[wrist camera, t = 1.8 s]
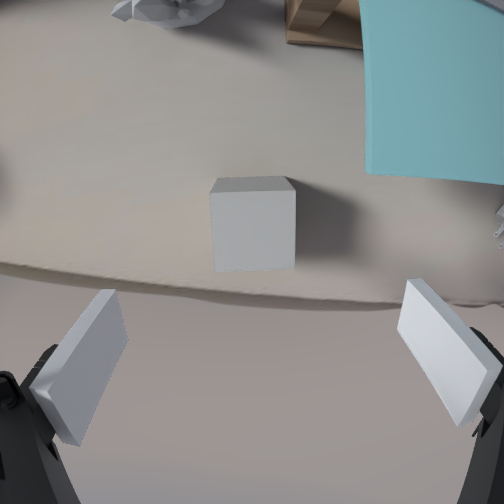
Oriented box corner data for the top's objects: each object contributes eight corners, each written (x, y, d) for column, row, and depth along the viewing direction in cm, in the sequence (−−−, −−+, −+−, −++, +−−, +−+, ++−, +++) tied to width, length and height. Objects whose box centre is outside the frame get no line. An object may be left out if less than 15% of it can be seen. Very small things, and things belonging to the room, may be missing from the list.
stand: (284, -3, 22) (309, -77, 10) (457, 29, 22) (538, 7, 10) (286, 43, 24) (317, -14, 12) (461, 70, 24) (548, 62, 12)
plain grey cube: (217, 178, 29) (209, 193, 22) (284, 176, 29) (295, 190, 22) (220, 240, 31) (215, 271, 24) (284, 238, 31) (294, 269, 24)
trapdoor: (331, -69, 14) (348, -102, 9) (474, -26, 14) (507, -40, 9) (346, 164, 21) (374, 176, 16) (489, 176, 21) (529, 189, 16)
